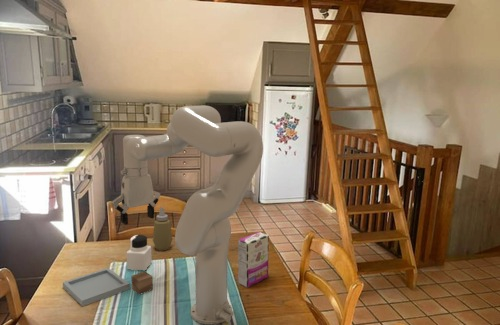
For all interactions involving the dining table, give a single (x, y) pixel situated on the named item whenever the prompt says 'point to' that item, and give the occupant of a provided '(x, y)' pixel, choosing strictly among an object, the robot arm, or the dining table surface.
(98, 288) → the tray
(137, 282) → the cube
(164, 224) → the squeeze bottle
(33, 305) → the dining table surface
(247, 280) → the candy bar box
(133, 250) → the medicine bottle
